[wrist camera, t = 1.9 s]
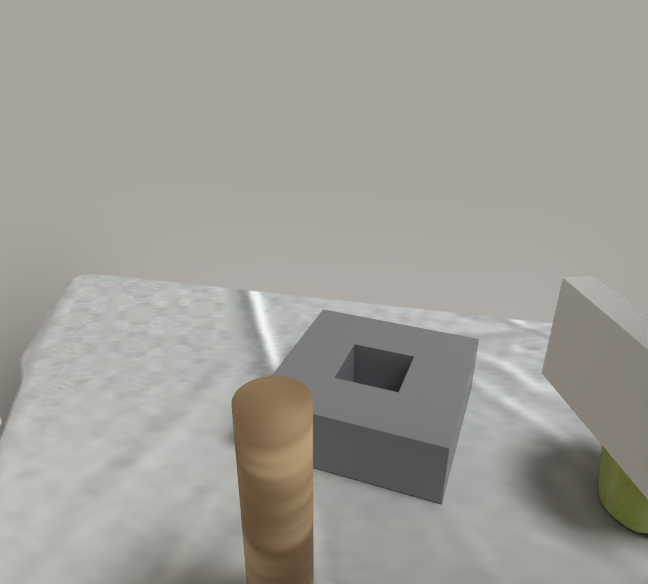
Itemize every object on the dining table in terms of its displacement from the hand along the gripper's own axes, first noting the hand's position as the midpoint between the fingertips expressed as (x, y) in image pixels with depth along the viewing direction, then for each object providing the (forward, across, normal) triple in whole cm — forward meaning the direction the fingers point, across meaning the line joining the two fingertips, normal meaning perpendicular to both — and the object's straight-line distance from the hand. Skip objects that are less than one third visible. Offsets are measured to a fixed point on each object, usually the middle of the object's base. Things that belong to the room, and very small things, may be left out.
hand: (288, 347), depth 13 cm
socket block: (+25, +9, -24) cm, 36 cm away
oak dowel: (+10, 0, -24) cm, 26 cm away
